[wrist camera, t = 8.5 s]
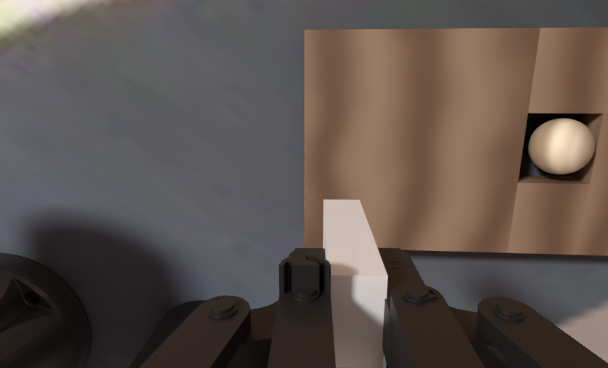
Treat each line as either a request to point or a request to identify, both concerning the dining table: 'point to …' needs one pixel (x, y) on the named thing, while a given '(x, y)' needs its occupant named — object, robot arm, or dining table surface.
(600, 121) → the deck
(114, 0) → the dining table surface
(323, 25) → the dining table surface
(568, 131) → the ball
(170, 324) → the mug
